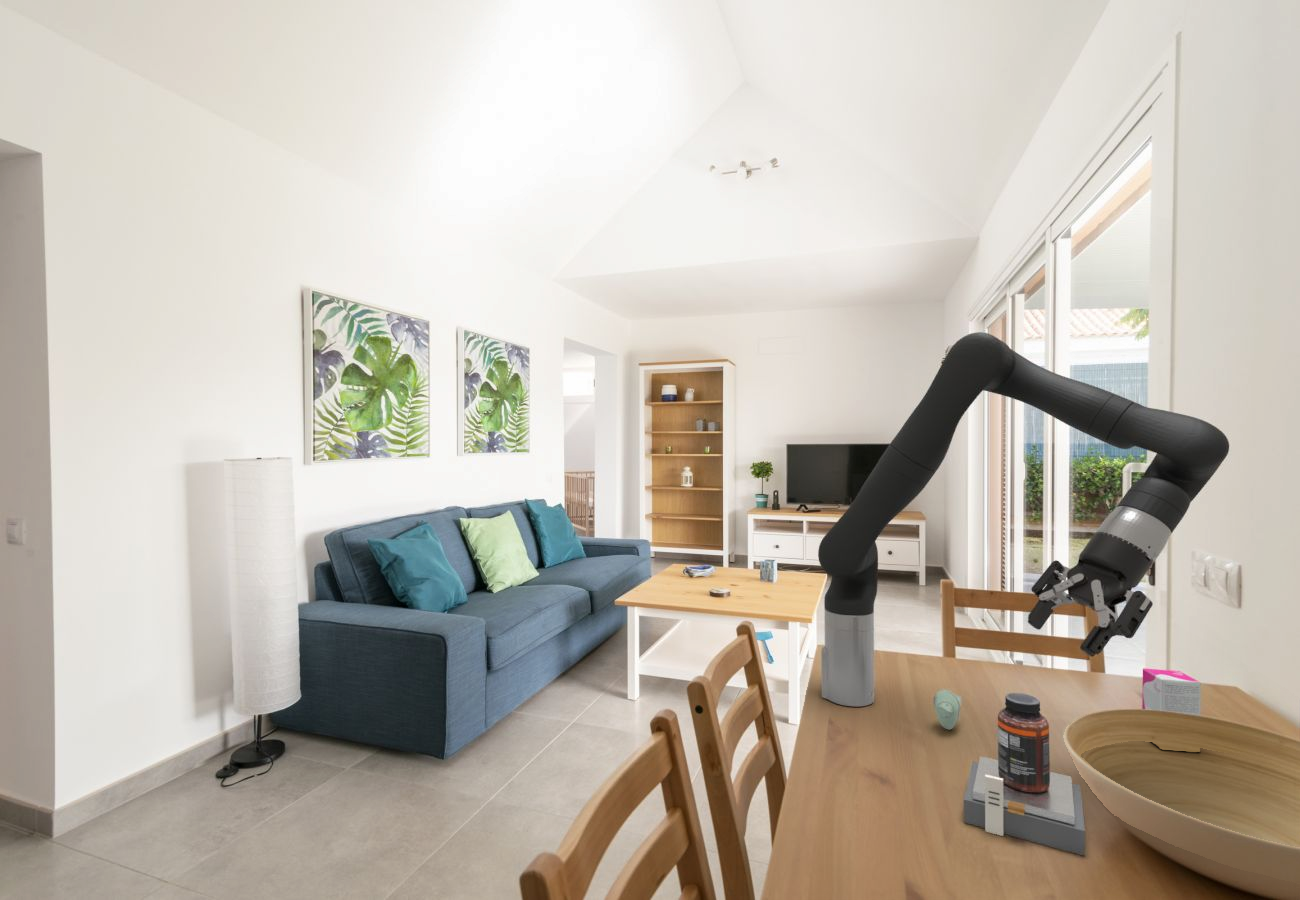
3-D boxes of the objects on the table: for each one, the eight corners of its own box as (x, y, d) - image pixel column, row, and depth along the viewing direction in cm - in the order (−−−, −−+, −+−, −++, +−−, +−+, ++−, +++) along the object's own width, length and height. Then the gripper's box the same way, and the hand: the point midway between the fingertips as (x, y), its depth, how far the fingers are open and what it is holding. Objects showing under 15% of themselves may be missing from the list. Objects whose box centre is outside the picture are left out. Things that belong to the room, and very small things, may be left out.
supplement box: (1202, 754, 100) (1202, 682, 100) (1160, 750, 102) (1160, 679, 102) (1180, 737, 106) (1179, 669, 106) (1140, 734, 107) (1139, 667, 107)
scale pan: (971, 804, 81) (971, 796, 81) (980, 763, 91) (980, 756, 91) (1075, 831, 75) (1075, 823, 75) (1071, 784, 86) (1071, 776, 86)
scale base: (963, 825, 82) (963, 771, 82) (972, 781, 92) (972, 733, 92) (1085, 859, 75) (1085, 800, 75) (1080, 807, 86) (1079, 755, 86)
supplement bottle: (1043, 775, 86) (1043, 692, 86) (1055, 798, 80) (1055, 709, 80) (994, 768, 88) (993, 687, 88) (1002, 790, 82) (1002, 703, 82)
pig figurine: (952, 740, 105) (952, 700, 105) (927, 733, 108) (927, 693, 108) (965, 724, 111) (965, 686, 111) (941, 718, 114) (941, 680, 114)
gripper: (1065, 518, 95) (1002, 605, 94) (1162, 546, 81) (1090, 648, 81) (1092, 545, 97) (1031, 630, 97) (1192, 577, 84) (1121, 676, 83)
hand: (1058, 639), depth 89 cm, fingers open, 8 cm apart
